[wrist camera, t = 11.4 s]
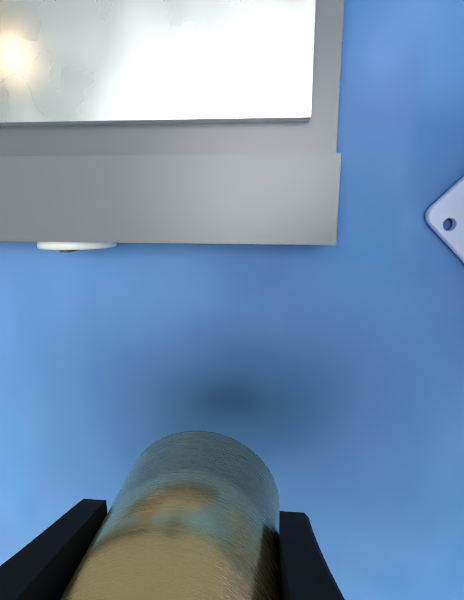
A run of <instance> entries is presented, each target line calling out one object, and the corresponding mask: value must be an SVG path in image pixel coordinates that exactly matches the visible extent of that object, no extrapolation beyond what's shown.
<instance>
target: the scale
mask: <svg viewBox="0 0 464 600" xmlns="http://www.w3.org/2000/svg"><path fill="white" fill-rule="evenodd" d="M343 16H344V0H0V241H21V242H37V248H39V249H48V250H60V252H72V251H77V250H85V249H102V248H111V247H116V246H117V243H199V244H287V245H336V236H337V219H338V201H339V183H340V165H341V153H336V145H337V127H338V108H339V90H340V71H341V53H342V34H343Z"/></svg>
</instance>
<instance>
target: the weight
mask: <svg viewBox="0 0 464 600" xmlns="http://www.w3.org/2000/svg"><path fill="white" fill-rule="evenodd" d="M60 600H281V589H280V570H279V496H278V490H277V487H276V484H275V481H274V479H273V477H272V475H271V473H270V471H269V469H268V468H267V466H266V465H265V464H264V462H263V461H262V460H261V459H260V458H259V457H258V456H257V455H256V454H255V453H254V452H253V451H252V450H250V449H249V448H248V447H246V446H245V445H243V444H242V443H240V442H238V441H236V440H234V439H232V438H229V437H227V436H224V435H221V434H217V433H213V432H206V431H187V432H180V433H176V434H172V435H170V436H167V437H165V438H162V439H160V440H159V441H157V442H155V443H154V444H152V445H151V446H150V447H148V448H147V449H146V450H145V451H144V452H143V453H142V454H141V456H140V457H139V458H138V460H137V461H136V463H135V464H134V466H133V468H132V470H131V472H130V474H129V475H128V477H127V479H126V481H125V483H124V484H123V486H122V488H121V490H120V492H119V493H118V495H117V497H116V499H115V501H114V503H113V504H112V506H111V508H110V510H109V512H108V513H107V515H106V517H105V519H104V521H103V522H102V524H101V526H100V528H99V530H98V532H97V533H96V535H95V537H94V539H93V541H92V542H91V544H90V546H89V548H88V550H87V551H86V553H85V555H84V557H83V559H82V561H81V562H80V564H79V566H78V568H77V570H76V571H75V573H74V575H73V577H72V579H71V581H70V582H69V584H68V586H67V588H66V590H65V591H64V593H63V595H62V597H61V599H60Z"/></svg>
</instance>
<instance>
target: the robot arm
mask: <svg viewBox="0 0 464 600" xmlns="http://www.w3.org/2000/svg"><path fill="white" fill-rule="evenodd" d="M425 218H426V221H427V223H428V225H429V226H430V227H431V228H432V229H433V230H434V231H435V232H436V233H437V234H438V235H439V237H440V238H441V239H442V240H443V241H444V242H445V243H446V244H447V245H448V246H449V247H450V249H451V250H452V251H453V252H454V253H455V254H456V255H457V256H458V257H459V258H460V259H461V261H462V262H463V263H464V176H463V177H462V178H461V179H460V180H459V181H458V182H457V183H455V184H454V185H453V186H452V187H451V188H450V189H449V190H448V191H447V192H445V193H444V194H443V195H442V196H441V197H440V198H439V199H438V200H436V201H435V202H434V203H433V204H432V205H431V206H430V207H429V208H428V209H427V211H426V214H425ZM447 218H450V219H451V220H452V222H453V223H452V227H451V228H450V229H449V230H447V231H446V230H445V229H444V228H443V222H444V221H445V219H447ZM106 515H107V504H106V500H93V499H83V500H82V501H80V502H79V503H78V504H77V505H75V506H74V507H73V508H72V509H70V510H69V511H68V512H67V513H65V514H64V515H63V516H62V517H61V518H59V519H58V520H57V521H56V522H55V523H53V524H52V525H51V526H50V527H49V528H47V529H46V530H45V531H44V532H42V533H41V534H40V535H39V536H38V537H36V538H35V539H34V540H33V541H31V542H30V543H29V544H28V545H26V546H25V547H24V548H23V549H21V550H20V551H19V552H18V553H16V554H15V555H14V556H13V557H11V558H10V559H9V560H7V561H6V562H5V563H3V564H2V565H1V566H0V600H60V599H61V597H62V595H63V593H64V591H65V590H66V588H67V586H68V584H69V582H70V581H71V579H72V577H73V575H74V573H75V571H76V570H77V568H78V566H79V564H80V562H81V561H82V559H83V557H84V555H85V553H86V551H87V550H88V548H89V546H90V544H91V542H92V541H93V539H94V537H95V535H96V533H97V532H98V530H99V528H100V526H101V524H102V522H103V521H104V519H105V517H106ZM279 570H280V589H281V600H345V599H344V597H343V596H342V594H341V592H340V590H339V588H338V586H337V584H336V582H335V580H334V578H333V576H332V574H331V572H330V570H329V568H328V566H327V564H326V562H325V559H324V557H323V555H322V553H321V550H320V548H319V546H318V543H317V541H316V538H315V536H314V533H313V530H312V527H311V524H310V521H309V517H308V516H307V515H306V514H305V513H300V512H284V511H279Z"/></svg>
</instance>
